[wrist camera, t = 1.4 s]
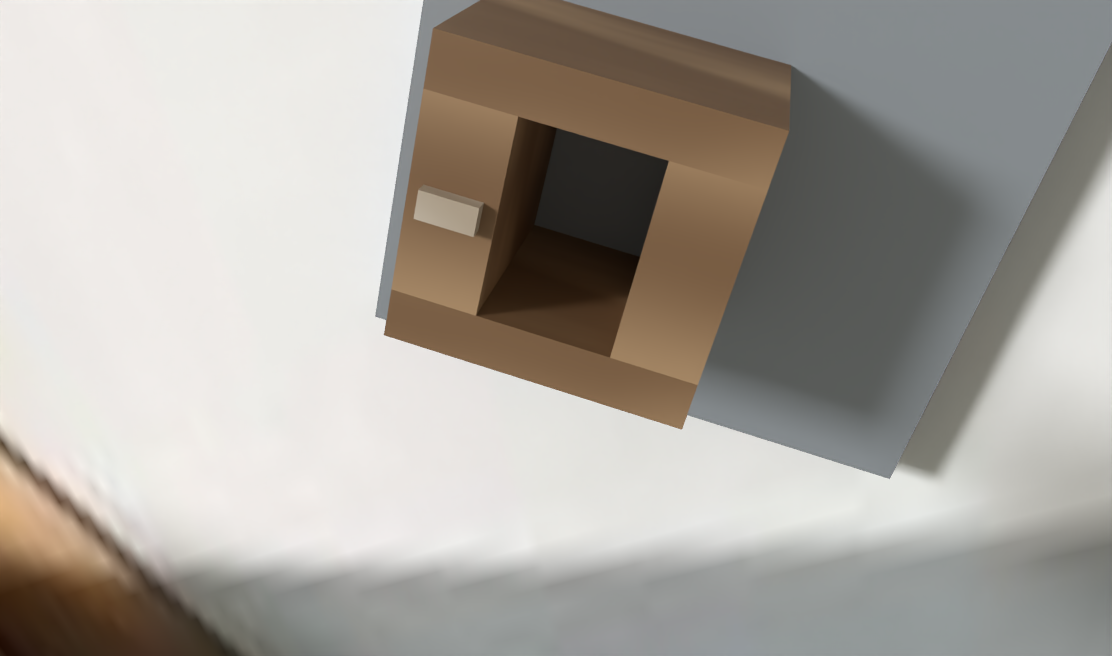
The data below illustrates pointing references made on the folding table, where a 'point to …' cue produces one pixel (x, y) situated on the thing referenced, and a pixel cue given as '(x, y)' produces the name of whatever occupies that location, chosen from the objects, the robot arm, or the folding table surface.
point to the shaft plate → (843, 197)
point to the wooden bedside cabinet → (562, 260)
